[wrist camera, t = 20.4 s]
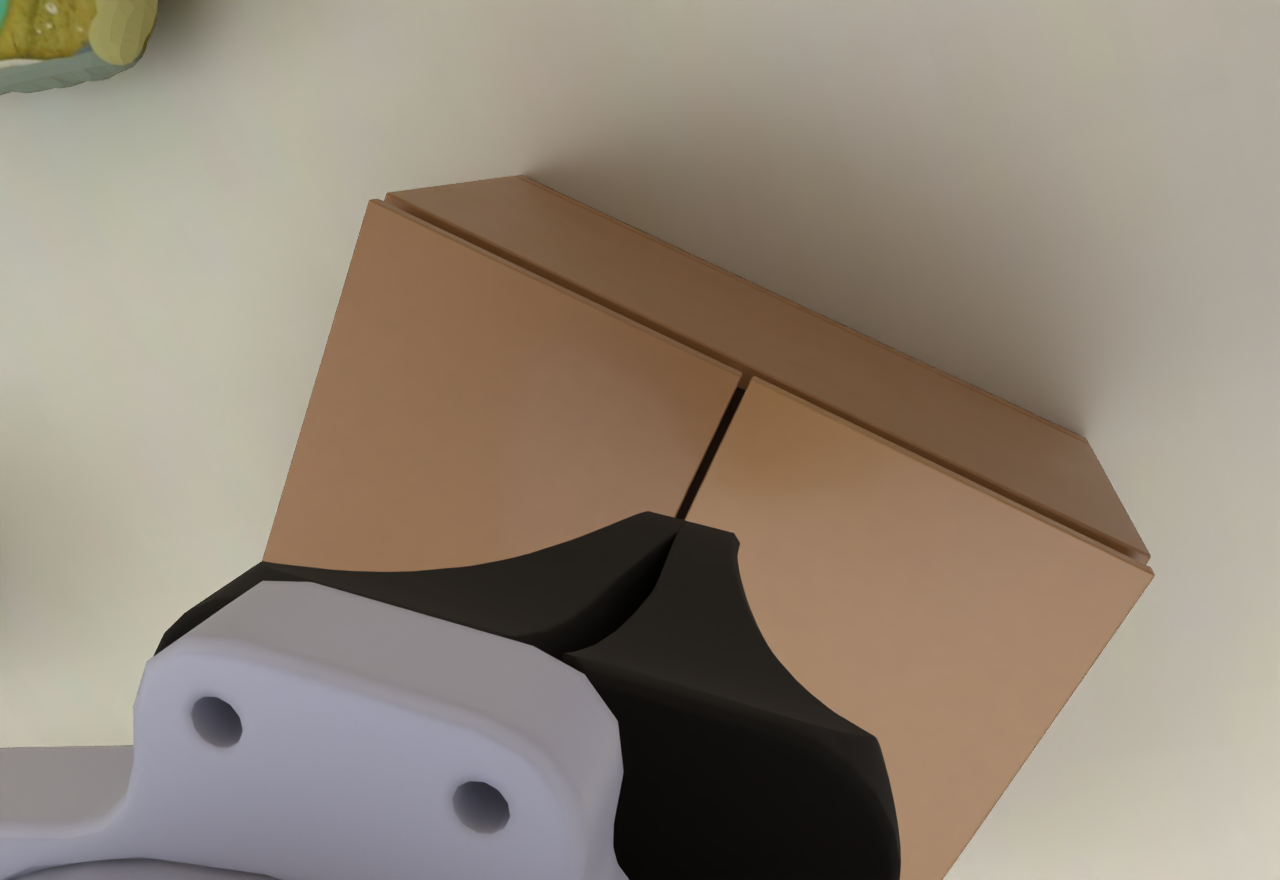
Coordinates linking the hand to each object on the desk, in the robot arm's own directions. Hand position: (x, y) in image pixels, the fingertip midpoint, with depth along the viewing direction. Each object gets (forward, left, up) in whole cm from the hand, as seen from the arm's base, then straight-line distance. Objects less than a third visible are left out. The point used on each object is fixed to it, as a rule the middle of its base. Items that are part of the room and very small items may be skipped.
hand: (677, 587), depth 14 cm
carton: (+1, +4, -10) cm, 11 cm away
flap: (-3, +4, -4) cm, 6 cm away
